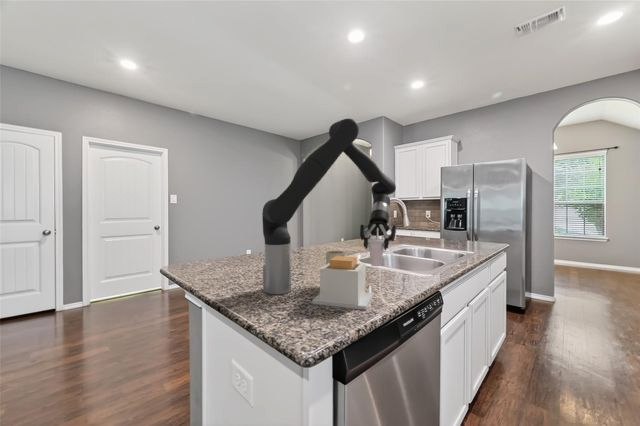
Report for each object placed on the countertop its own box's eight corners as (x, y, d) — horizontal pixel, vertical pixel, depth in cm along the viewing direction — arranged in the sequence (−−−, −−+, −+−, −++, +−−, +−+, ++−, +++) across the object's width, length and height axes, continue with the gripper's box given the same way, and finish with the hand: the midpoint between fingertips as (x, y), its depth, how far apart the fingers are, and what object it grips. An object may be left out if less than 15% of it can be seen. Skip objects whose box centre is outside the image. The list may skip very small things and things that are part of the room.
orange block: (329, 283, 87) (329, 259, 86) (336, 277, 93) (335, 255, 93) (352, 285, 84) (351, 261, 84) (357, 279, 91) (356, 256, 91)
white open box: (312, 303, 86) (311, 268, 85) (325, 291, 98) (325, 260, 98) (366, 309, 80) (366, 272, 80) (373, 296, 92) (373, 263, 92)
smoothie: (386, 267, 100) (386, 228, 99) (369, 267, 100) (369, 228, 99) (382, 263, 106) (382, 227, 106) (366, 263, 106) (366, 227, 106)
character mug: (349, 289, 100) (348, 254, 99) (330, 291, 98) (329, 255, 98) (340, 281, 110) (339, 249, 110) (323, 282, 109) (322, 250, 108)
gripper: (361, 208, 112) (354, 240, 101) (397, 208, 107) (395, 242, 96) (363, 221, 117) (357, 252, 106) (398, 221, 112) (396, 255, 101)
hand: (375, 247), depth 101 cm, fingers closed on smoothie, 6 cm apart
